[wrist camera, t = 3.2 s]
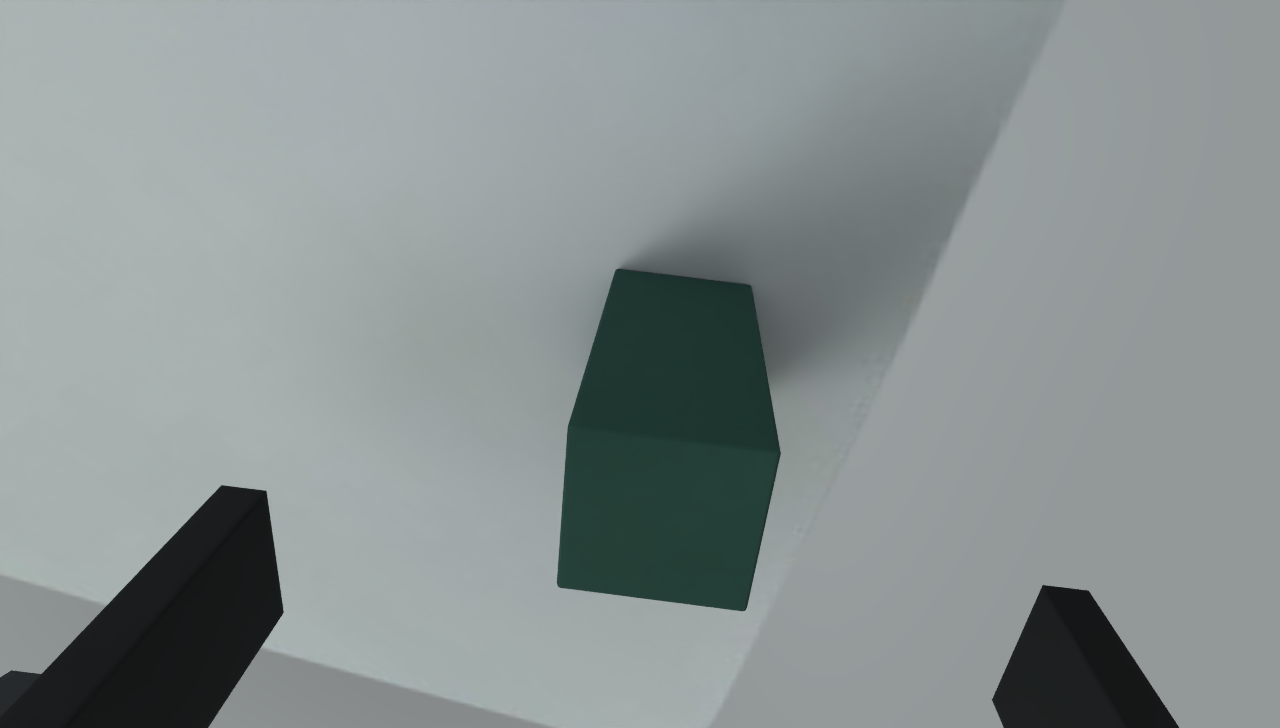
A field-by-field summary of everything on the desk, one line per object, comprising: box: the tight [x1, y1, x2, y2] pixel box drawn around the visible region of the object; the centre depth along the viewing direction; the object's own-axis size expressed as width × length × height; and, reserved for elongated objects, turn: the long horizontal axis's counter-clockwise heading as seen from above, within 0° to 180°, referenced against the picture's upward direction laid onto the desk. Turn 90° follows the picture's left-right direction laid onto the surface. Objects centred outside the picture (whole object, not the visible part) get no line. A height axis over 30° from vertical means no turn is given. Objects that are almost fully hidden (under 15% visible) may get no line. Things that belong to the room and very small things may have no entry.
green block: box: [557, 269, 781, 611], centre depth 19 cm, size 4×4×9 cm
